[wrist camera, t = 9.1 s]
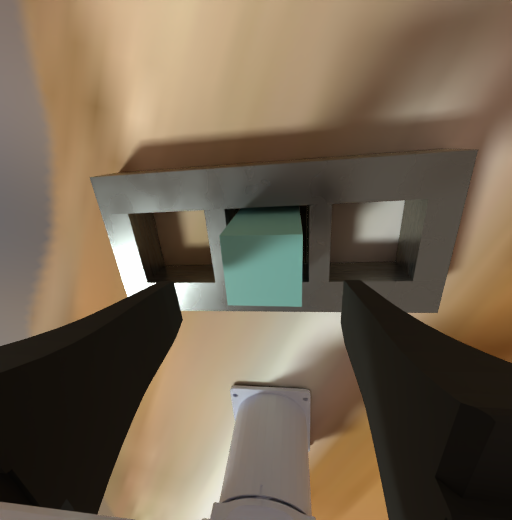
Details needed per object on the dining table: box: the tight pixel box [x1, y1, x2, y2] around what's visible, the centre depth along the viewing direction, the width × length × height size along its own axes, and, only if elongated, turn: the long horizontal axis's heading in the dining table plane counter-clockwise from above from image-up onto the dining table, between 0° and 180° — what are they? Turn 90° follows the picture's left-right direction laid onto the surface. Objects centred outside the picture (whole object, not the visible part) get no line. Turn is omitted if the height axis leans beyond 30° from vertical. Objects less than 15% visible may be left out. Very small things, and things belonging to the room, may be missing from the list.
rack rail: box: [90, 149, 478, 313], centre depth 18 cm, size 10×22×3 cm, turn 94°
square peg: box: [219, 205, 303, 307], centre depth 16 cm, size 4×4×7 cm
